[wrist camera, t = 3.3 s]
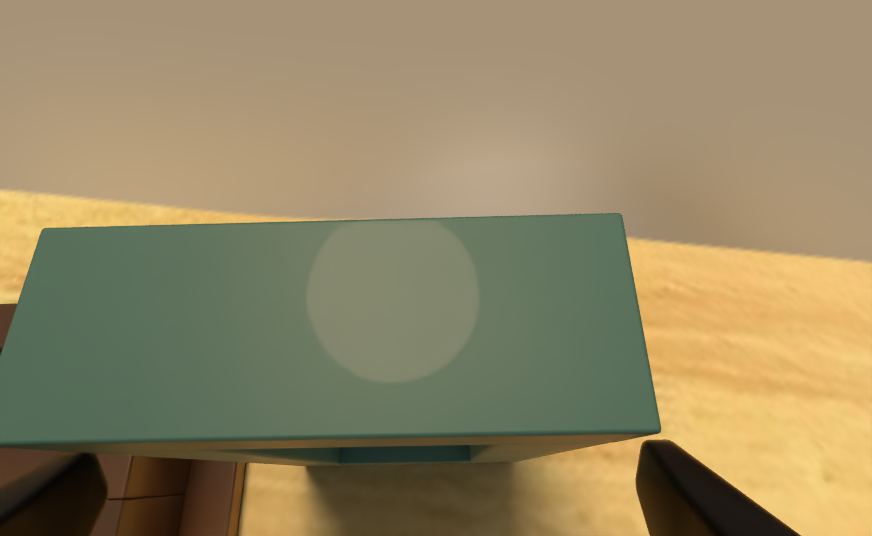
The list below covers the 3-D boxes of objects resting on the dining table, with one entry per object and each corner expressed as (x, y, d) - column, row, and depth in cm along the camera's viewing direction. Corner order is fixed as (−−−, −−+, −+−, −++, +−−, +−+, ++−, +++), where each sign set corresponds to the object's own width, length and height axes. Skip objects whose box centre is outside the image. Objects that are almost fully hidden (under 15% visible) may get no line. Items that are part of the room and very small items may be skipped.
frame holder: (234, 562, 15) (166, 590, 12) (-202, 568, 16) (-402, 598, 12) (264, 317, 19) (218, 279, 15) (-101, 326, 19) (-235, 290, 15)
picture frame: (513, 462, 16) (664, 433, 5) (304, 466, 17) (-32, 446, 5) (507, 386, 17) (623, 211, 6) (310, 390, 17) (41, 226, 6)
